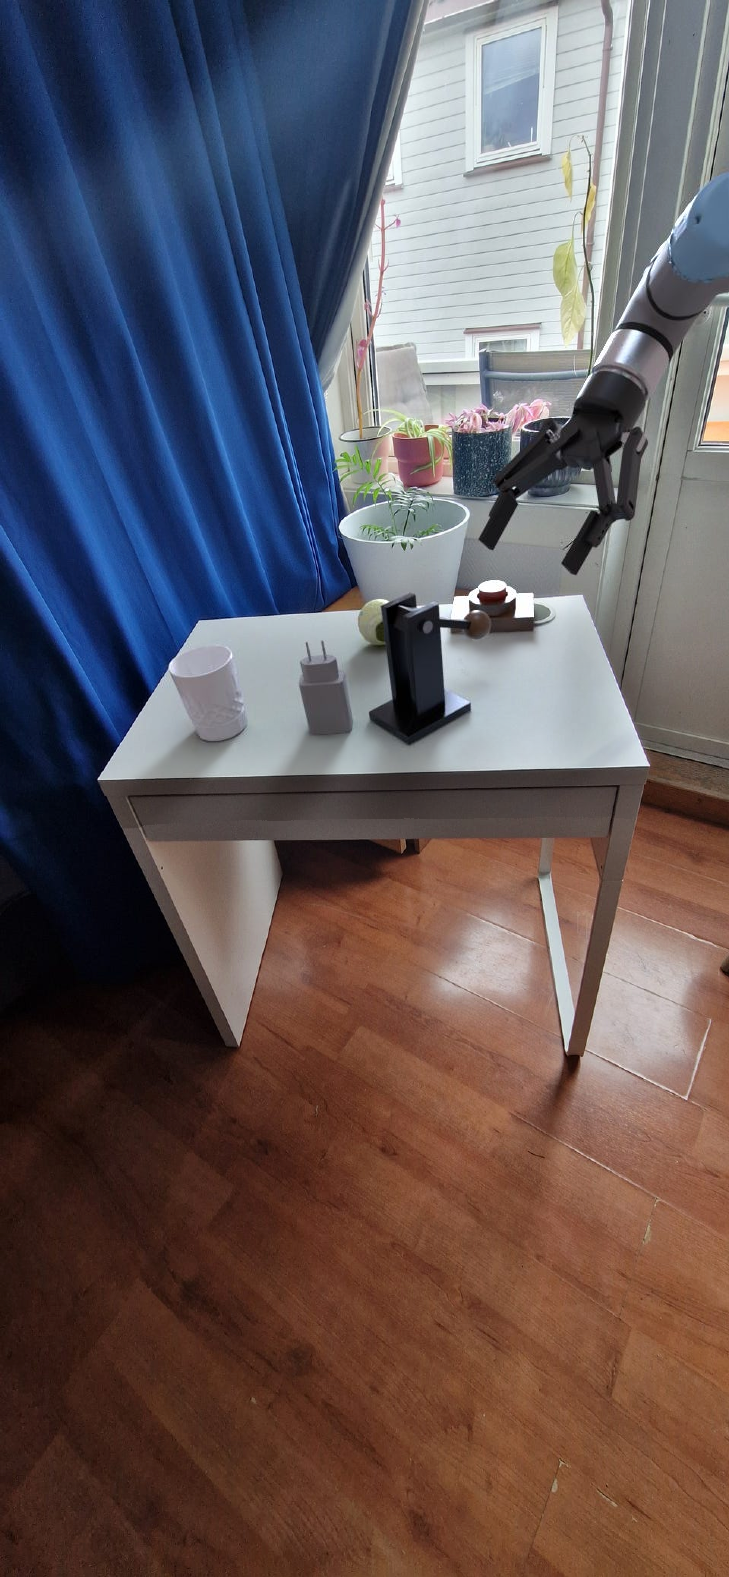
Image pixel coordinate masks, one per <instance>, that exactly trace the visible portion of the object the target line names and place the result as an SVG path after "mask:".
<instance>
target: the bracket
mask: <svg viewBox="0 0 729 1577" xmlns="http://www.w3.org/2000/svg"><path fill="white" fill-rule="evenodd" d="M398 606H406V607H416V608H419V609H416V610H414V611H412V612H410V613H408V614H406V615H404V616H403V622H404V631H405V632H404V631H402V630H400V629H398V628H395V627H394V622H395V618H396V613H397V609H398ZM381 612H382V620H383V628H384V636H385V644H384V645H385V651H386V659H387V667H388V676H389V685H390V692H391V699H390V700H389V701H386V702H384V703H383V704H381V705H379V706H377V707H375V708H373V709H371V710H370V711H368V716H369V718H368V719H369V720H370V721H371V722H372V723H374V724H376V725H377V726H379V727H380V728H382V729H384V730H385V731H386V732H388V733H390V735H393V736H394V737H396V738H397V739H399V740H400V741H402V742H403V743H405V744H406V745H408V746H411V745H412V744H415V743H416V742H418V741H420V740H421V739H423V738H425V737H427V736H428V735H430V734H432V733H435V731H438V730H439V729H441V728H443V727H444V726H446V725H448V724H450V723H451V722H453V721H455V720H457V719H459V718H461V717H462V716H464V715H466V714H467V713H469V712H471V711H472V703H471V701H468V700H467V699H465V698H463V697H461V696H459V695H458V694H456V693H454V692H452V691H449V690H448V689H446V688H445V680H444V679H445V676H444V663H443V648H442V647H443V645H442V630H441V627H440V617H441V614H440V604H439V603H437V602H435V601H432V602H430V603H428V604H425V605H423V606H421V607H418V606H417V595H416V594H415V593H413V592H408V593H406V594H404V595H402V596H400V597H397V598H395V599H393V600H390V601H389V602H388V603H386V604H384V605H382V606H381Z"/></svg>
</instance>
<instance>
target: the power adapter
mask: <svg viewBox="0 0 729 1577" xmlns="http://www.w3.org/2000/svg"><path fill="white" fill-rule="evenodd" d="M320 643H321V644H320V645H321V650H322V654H321V655H311V650H310V647H309V642H308V641H305V648H306V653H307V656H306V657H304V658H302V659H301V660H299V664H300V668H301V673H302V674H301V675H300V676H299V679H298V680H299V681H298V687H299V691H300V696H301V700H302V705H303V709H304V714H305V718H306V722H307V726H308V727H307V728H308V730H309V734H310V735H312V736H318V735H319V736H321V735H335V734H337V735H338V734H347V733H350V732H351V731H352V730H353V726H354V725H353V724H354V718H353V712H352V707H351V702H350V701H351V700H350V696H349V690H348V685H347V679H346V672H345V671H344V670H343V669H339V665H338V659H337V657H336V656H334V655H332V654H327V652H326V647H325V643H324V640H320Z"/></svg>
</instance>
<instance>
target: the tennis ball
mask: <svg viewBox="0 0 729 1577" xmlns="http://www.w3.org/2000/svg"><path fill="white" fill-rule="evenodd" d="M388 602H390V601H389V600H387V599H383V598H375V599H372V600H370V601H368V602H367V603H365V604H364V605H363V606H362V608H361V610H360V612H359V614H358V616H357V628H358V631H359V633H360V634H361V636H362V638H363V639H364V640H365V641H367V642H368V643H370V644H371V645H374V646H375V647H377V646H385V645H386V644H385V636H384V628H383V620H382V612H381V606H382V605H384V604H386V603H388Z"/></svg>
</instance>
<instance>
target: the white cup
mask: <svg viewBox="0 0 729 1577" xmlns="http://www.w3.org/2000/svg"><path fill="white" fill-rule="evenodd" d="M167 669H168V672H169V674H170V677H171V679H172V681H173V684H174V686H175V688H176V690H177V694H178V695H179V698H180V700H181V702H182V704H183V707H184V709H185V711H186V713H187V715H188V718H189V719H190V721H191V723H192V725H193V728H194V730H195V733H196V734H197V735H198V737H199V738H200V739H201V740H204V741H208V742H223V741H225V740H229V739H232V738H233V737H236V736H237V735H238V734H240V733H242V732H243V730H244V729H245V728H246V727H247V722H248V718H247V714H246V709H245V706H244V704H245V703H244V698H243V694H242V689H241V685H240V680H239V677H238V671H237V668H236V665H235V660H234V656H233V652H232V650H231V649H230V648H229V647H227V646H225V645H221V644H205V645H199V646H195V647H192V648H189V649H187V650H185V651H182V652H181V653H179V654H178V655H176V656H175V657H174V658H173V659H172V660H171V661H170V662H169V664H168V668H167Z"/></svg>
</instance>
